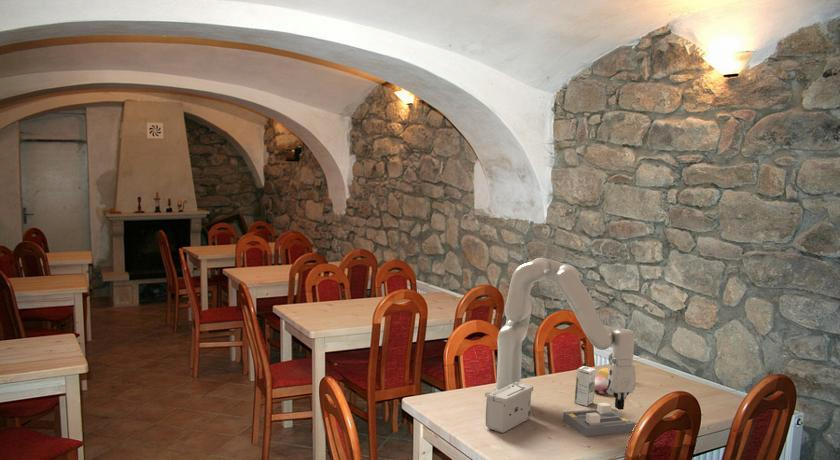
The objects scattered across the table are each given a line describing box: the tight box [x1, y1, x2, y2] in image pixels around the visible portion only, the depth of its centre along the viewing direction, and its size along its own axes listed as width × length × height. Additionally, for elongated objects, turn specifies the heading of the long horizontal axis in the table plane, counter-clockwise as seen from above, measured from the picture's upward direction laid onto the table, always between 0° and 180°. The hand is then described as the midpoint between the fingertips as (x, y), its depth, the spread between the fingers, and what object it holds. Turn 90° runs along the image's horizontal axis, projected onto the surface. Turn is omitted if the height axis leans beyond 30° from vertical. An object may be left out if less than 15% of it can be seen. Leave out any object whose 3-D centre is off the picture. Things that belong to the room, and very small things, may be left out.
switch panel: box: [562, 408, 635, 438], centre depth 243 cm, size 20×16×4 cm
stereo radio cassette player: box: [485, 378, 534, 434], centre depth 241 cm, size 21×8×20 cm, turn 141°
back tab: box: [596, 402, 612, 413], centre depth 248 cm, size 4×3×3 cm
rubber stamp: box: [598, 352, 613, 379], centre depth 299 cm, size 10×6×12 cm, turn 44°
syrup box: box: [574, 365, 597, 407], centre depth 266 cm, size 6×6×14 cm
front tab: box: [586, 413, 600, 424], centre depth 238 cm, size 4×3×3 cm
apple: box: [594, 374, 608, 395], centre depth 280 cm, size 8×8×7 cm
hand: (619, 408), depth 251 cm, fingers closed
